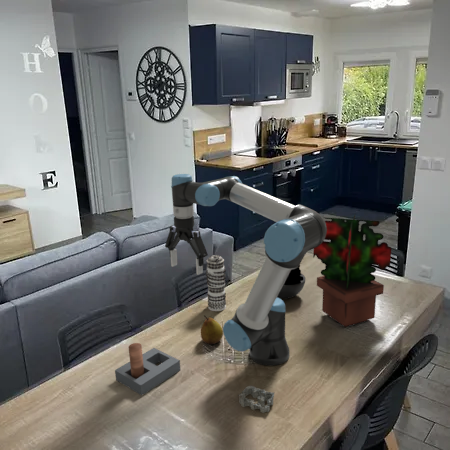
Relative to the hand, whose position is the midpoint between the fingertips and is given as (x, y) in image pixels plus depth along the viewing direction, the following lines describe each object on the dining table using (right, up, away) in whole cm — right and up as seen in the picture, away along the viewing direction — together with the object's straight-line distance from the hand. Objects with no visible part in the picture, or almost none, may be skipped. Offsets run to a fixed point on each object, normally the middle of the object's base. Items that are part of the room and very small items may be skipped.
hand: (186, 269), depth 175 cm
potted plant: (+68, -24, +24) cm, 76 cm away
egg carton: (+25, -41, -27) cm, 55 cm away
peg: (-16, -38, -15) cm, 44 cm away
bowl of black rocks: (+44, -18, +47) cm, 67 cm away
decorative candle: (+11, -22, +38) cm, 45 cm away
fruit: (+9, -30, +10) cm, 33 cm away
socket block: (-13, -37, -11) cm, 40 cm away
